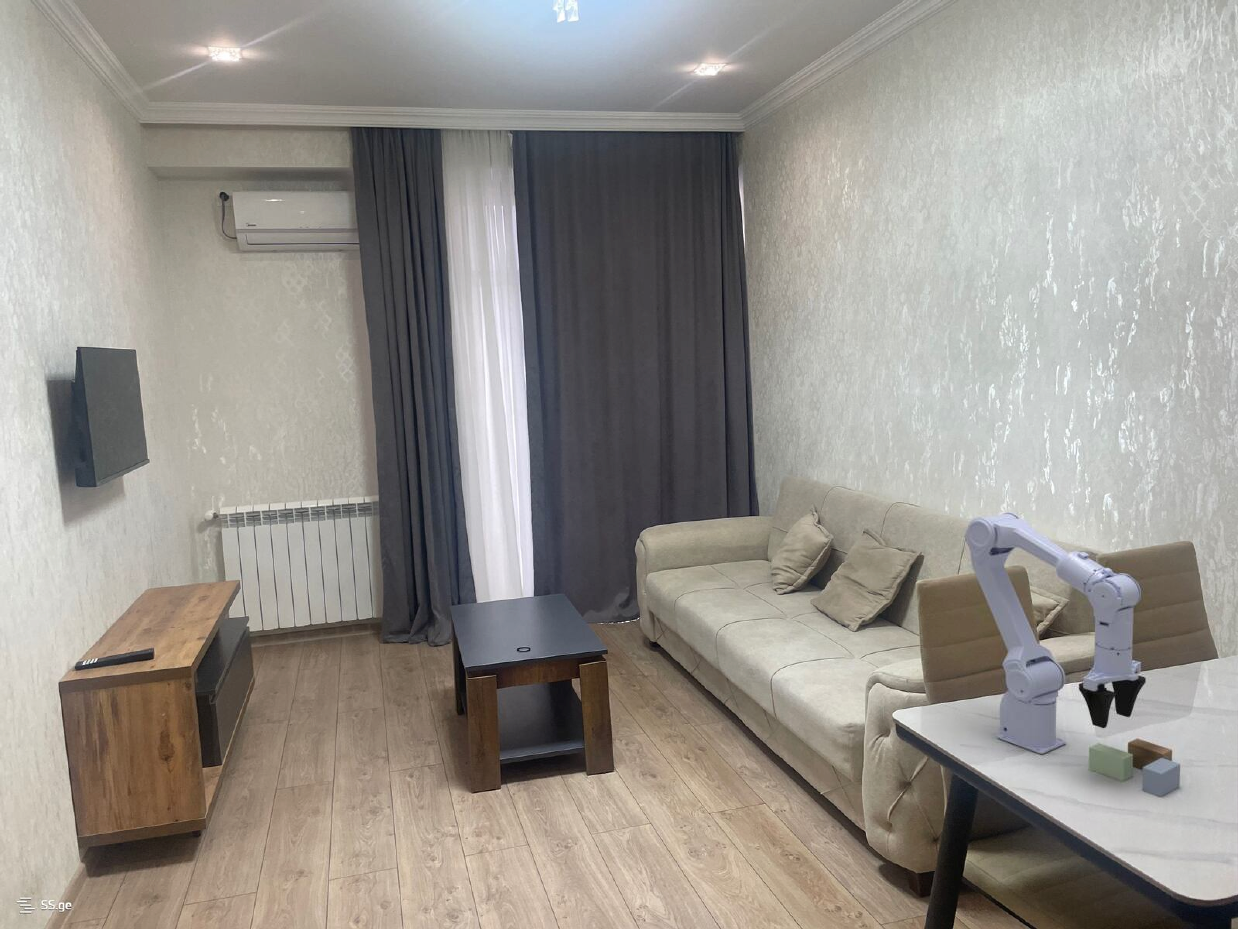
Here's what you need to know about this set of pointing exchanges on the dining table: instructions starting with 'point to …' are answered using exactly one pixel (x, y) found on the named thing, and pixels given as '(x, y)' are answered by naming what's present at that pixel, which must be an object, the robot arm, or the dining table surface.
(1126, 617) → the robot arm
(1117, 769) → the sage brick
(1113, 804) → the dining table surface
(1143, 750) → the walnut brick
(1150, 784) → the slate brick
